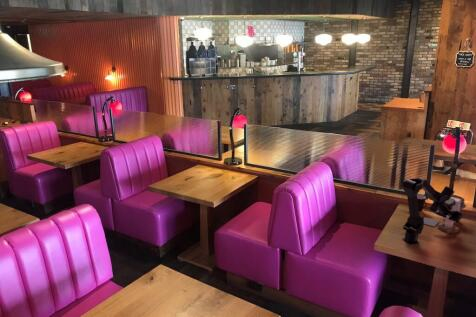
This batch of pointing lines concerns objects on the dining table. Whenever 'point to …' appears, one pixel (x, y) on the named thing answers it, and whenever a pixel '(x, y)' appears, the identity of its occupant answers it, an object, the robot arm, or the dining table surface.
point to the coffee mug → (421, 202)
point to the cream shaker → (448, 223)
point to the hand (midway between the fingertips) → (450, 219)
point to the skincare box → (455, 206)
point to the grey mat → (430, 222)
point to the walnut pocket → (454, 229)
